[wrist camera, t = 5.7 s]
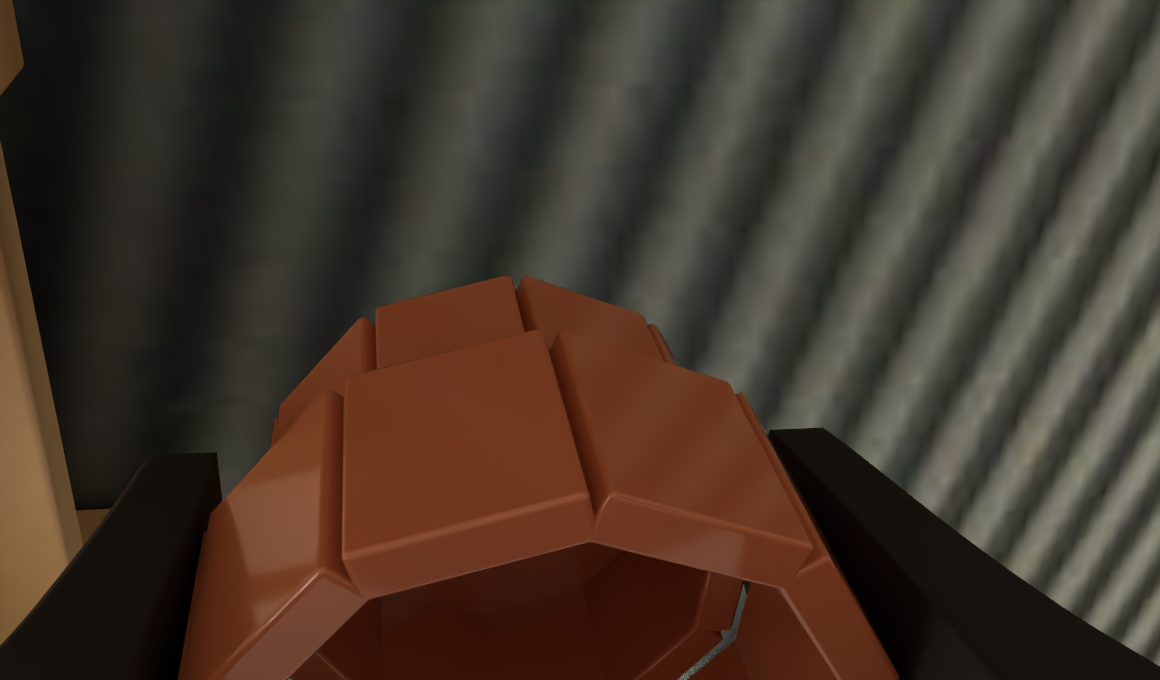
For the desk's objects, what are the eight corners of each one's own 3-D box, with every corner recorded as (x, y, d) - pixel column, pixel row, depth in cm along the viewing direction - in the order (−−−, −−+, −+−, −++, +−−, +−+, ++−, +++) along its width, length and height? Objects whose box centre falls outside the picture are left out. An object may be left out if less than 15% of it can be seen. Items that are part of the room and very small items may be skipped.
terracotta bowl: (608, 663, 15) (696, 1007, 11) (158, 572, 13) (76, 958, 9) (827, 319, 12) (1034, 605, 9) (320, 136, 10) (301, 410, 7)
